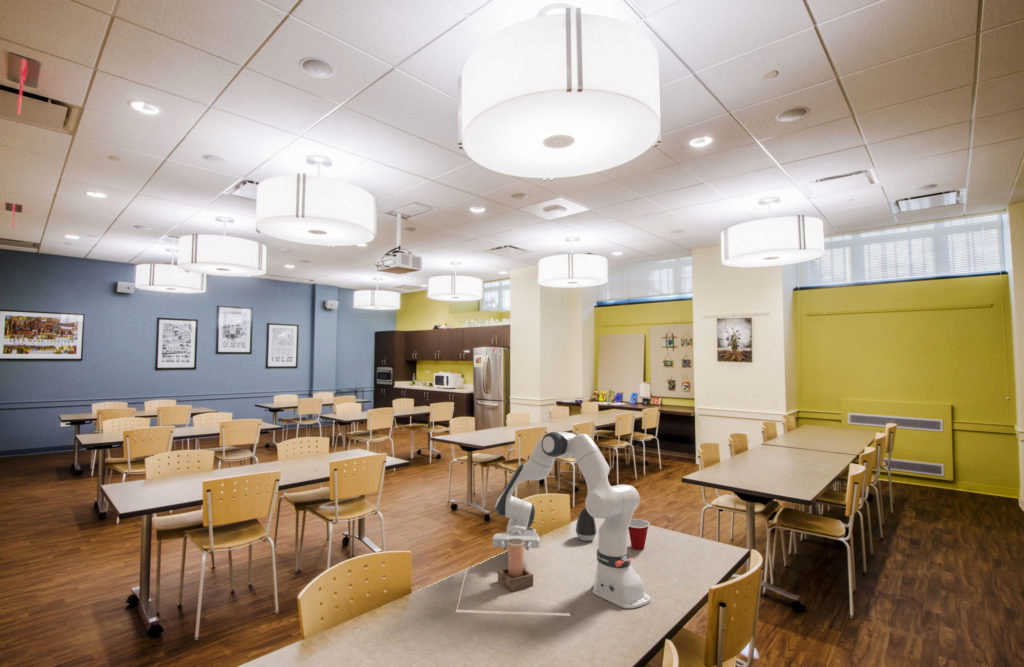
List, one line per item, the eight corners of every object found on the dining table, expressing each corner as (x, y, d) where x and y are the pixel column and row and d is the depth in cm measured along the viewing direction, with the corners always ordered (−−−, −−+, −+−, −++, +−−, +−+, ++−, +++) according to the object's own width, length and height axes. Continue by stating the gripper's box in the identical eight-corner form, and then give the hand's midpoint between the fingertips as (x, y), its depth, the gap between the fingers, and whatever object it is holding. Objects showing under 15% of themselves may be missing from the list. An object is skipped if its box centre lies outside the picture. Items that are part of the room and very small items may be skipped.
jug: (507, 579, 188) (508, 538, 189) (523, 580, 188) (524, 538, 189) (507, 589, 179) (508, 546, 181) (523, 590, 179) (524, 546, 180)
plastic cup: (621, 545, 229) (621, 519, 230) (638, 542, 234) (639, 517, 234) (635, 553, 219) (636, 527, 220) (654, 550, 224) (654, 524, 224)
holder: (533, 587, 183) (533, 574, 183) (510, 593, 178) (511, 580, 178) (519, 577, 192) (519, 564, 192) (497, 583, 186) (498, 569, 187)
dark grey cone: (595, 536, 240) (595, 505, 241) (597, 543, 230) (597, 511, 231) (575, 534, 241) (575, 504, 242) (575, 542, 231) (576, 510, 232)
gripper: (493, 527, 211) (491, 539, 197) (538, 529, 211) (540, 540, 197) (492, 542, 210) (491, 555, 197) (538, 543, 210) (540, 556, 196)
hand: (516, 548), depth 197 cm, fingers open, 8 cm apart
